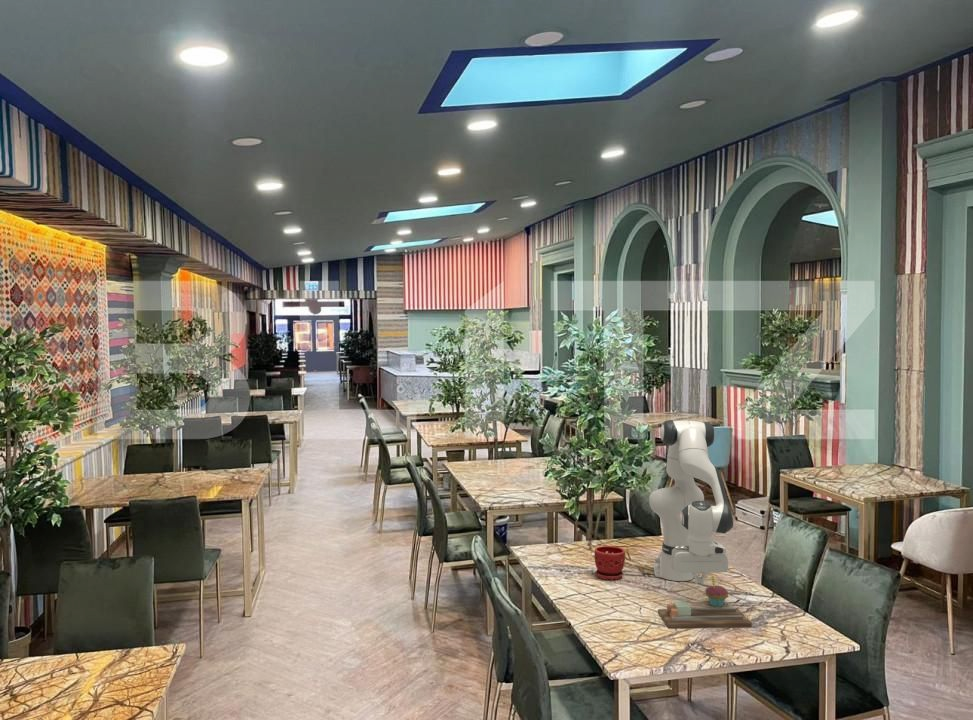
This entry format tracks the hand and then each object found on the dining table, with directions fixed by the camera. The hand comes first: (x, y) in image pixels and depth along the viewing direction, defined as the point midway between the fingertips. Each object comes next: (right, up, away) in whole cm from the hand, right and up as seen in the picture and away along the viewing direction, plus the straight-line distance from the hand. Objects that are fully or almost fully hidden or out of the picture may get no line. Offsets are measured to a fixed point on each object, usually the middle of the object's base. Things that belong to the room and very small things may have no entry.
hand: (699, 583), depth 262 cm
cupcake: (+11, -13, +15) cm, 23 cm away
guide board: (+2, -13, 0) cm, 14 cm away
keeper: (-6, -12, 0) cm, 14 cm away
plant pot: (-24, -12, +48) cm, 55 cm away
